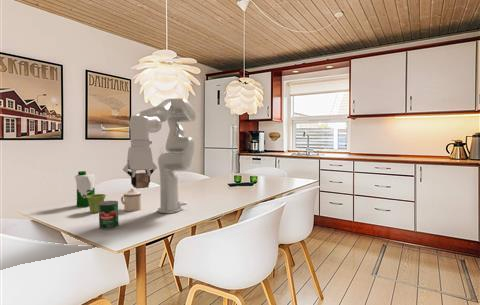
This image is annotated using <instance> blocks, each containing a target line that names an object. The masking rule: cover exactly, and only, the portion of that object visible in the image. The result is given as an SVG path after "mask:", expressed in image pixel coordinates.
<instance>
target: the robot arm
mask: <svg viewBox="0 0 480 305" xmlns="http://www.w3.org/2000/svg"><path fill="white" fill-rule="evenodd" d="M196 117H197V113H196V110H195V108H194V107H193V106H192V104H191V103H190V102H189V101H188V100H187V99H185V98H179V97H178V98H167V99H164V100H163V101H161V102H160V103H158V105H156V106H153V107H150V108H148V109H144V110H141V111H139V112H137V113H136V114H134V115H131V116H130V119H129V123H128V126H129V129H130V146H129V147H128V150H127V159H126V164H125V165H124V167H123V168H122V171H123V172H124V173H126V174H127V175H128V176H130V181H131V182H130V184H131V185H132V187H133V186H134V187H135V186H136V177H135V173H137V171H144V173H147V174H148V186H150V184H151V176H152V174H153V173H154V172H155V171H156V170H157V169H158V170H159V192H160V193H159V194H160V195H159V196H160V198H159V199H160V204H159V208H157V212H158V213H159V214H173V213H174V214H175V213H179V212H180V211H181V210H182V206H187V201H179V178H178V174H177V173H176V171H177V172H178V171H179V172H181V171H183V172H184V171H185V172H186V171H188V170H190V168H191V164H192V160H193V155H194V152H195V141H194V139H193V138H192V137H190V136H185V130H184V128H183V127H182V125H181V124H180V123H193V122H194V121H195V119H196ZM166 121H167V124H168V127H169V132H168V136H167V139H166V142H165V151H166V152H164V153H160V155H159V156H158V158H157V165H158V166H157V165H156V164H155V163H154V160H153V153H152V148H151V145H152V144H153V141H150V134H152V133H158V132H160V131H161V129H162V126H163V124H162V123H164V122H166ZM134 187H133V188H134Z"/></svg>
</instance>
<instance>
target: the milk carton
mask: <svg viewBox="0 0 480 305" xmlns="http://www.w3.org/2000/svg"><path fill="white" fill-rule="evenodd" d="M74 178H75V182H76V183H75V184H76V207H81V208H88V207H89V202H88V200H87V198H86V196H89V195H94V194H96V193H95V189H96V188H95V181H96V180H95V179H96V174H92V173H91V174H90V173H88V174H87V171H86V170H83V171H82V170H81V171H78V172H77V174H76V175H74ZM89 208H90V207H89Z"/></svg>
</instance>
